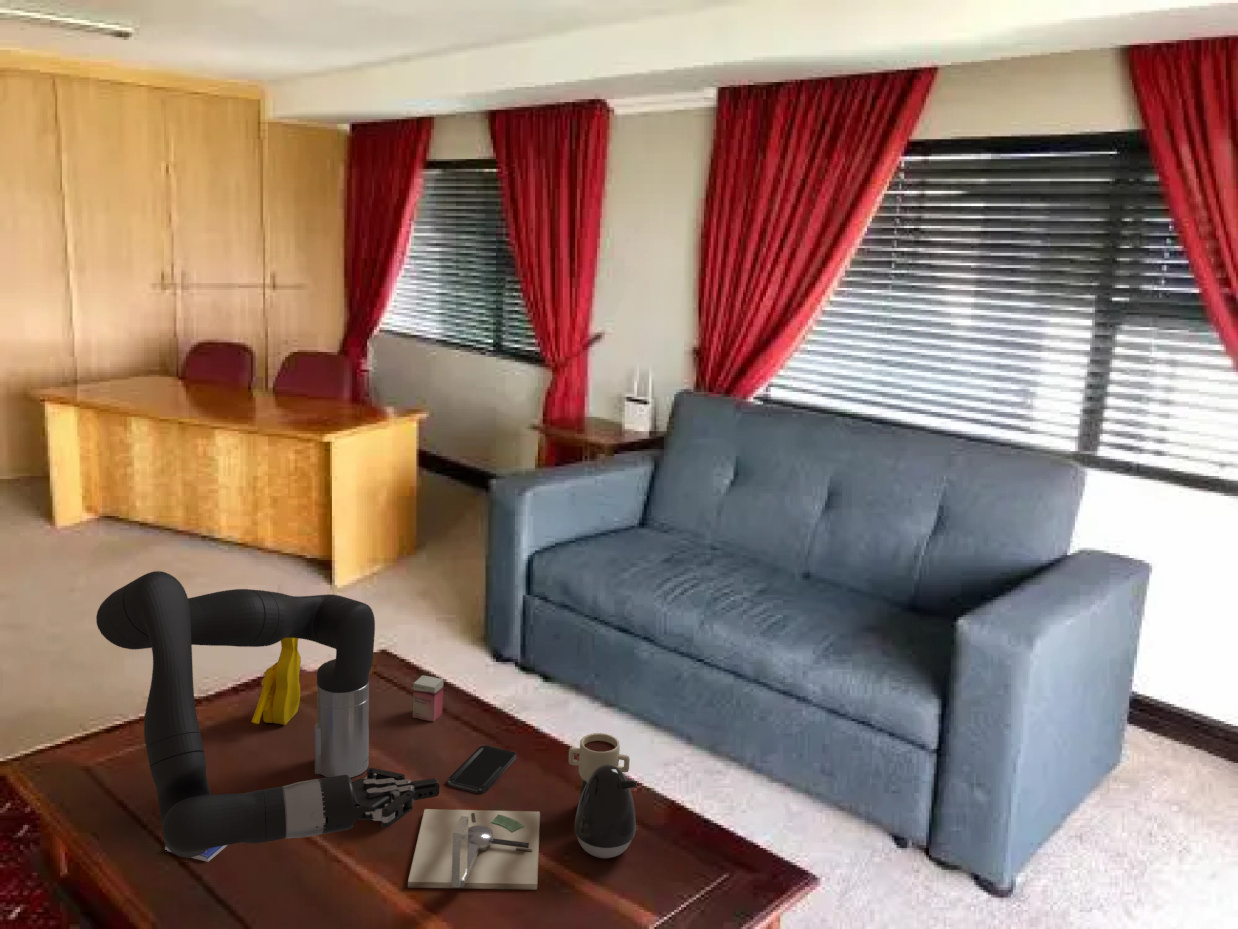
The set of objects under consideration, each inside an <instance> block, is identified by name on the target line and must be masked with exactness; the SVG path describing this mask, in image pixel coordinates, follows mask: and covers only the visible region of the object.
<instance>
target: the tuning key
mask: <svg viewBox="0 0 1238 929" xmlns="http://www.w3.org/2000/svg"><path fill="white" fill-rule="evenodd" d="M468 819H469V817H465V816H461V817H460V819H459V821H458V823H457V825H456V827H455V829H454V831H453V848H452V887H464V885H465V883H466V880H467V878H468V876H469V873H470V871H471V869H472V866H473V864H474V862H475V859H476V857H477V854H478V852H479V851H483V850H486V849H488V848H490V847H491V846H492V844H499V845H507V846H515V847H523V848H529V843H526V842H518V841H510V840H502V839H494V838H493V831H492V830H491V829H490V828H488V827H486V826H481V825H477V826H472V827H469V828H468Z"/></svg>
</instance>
